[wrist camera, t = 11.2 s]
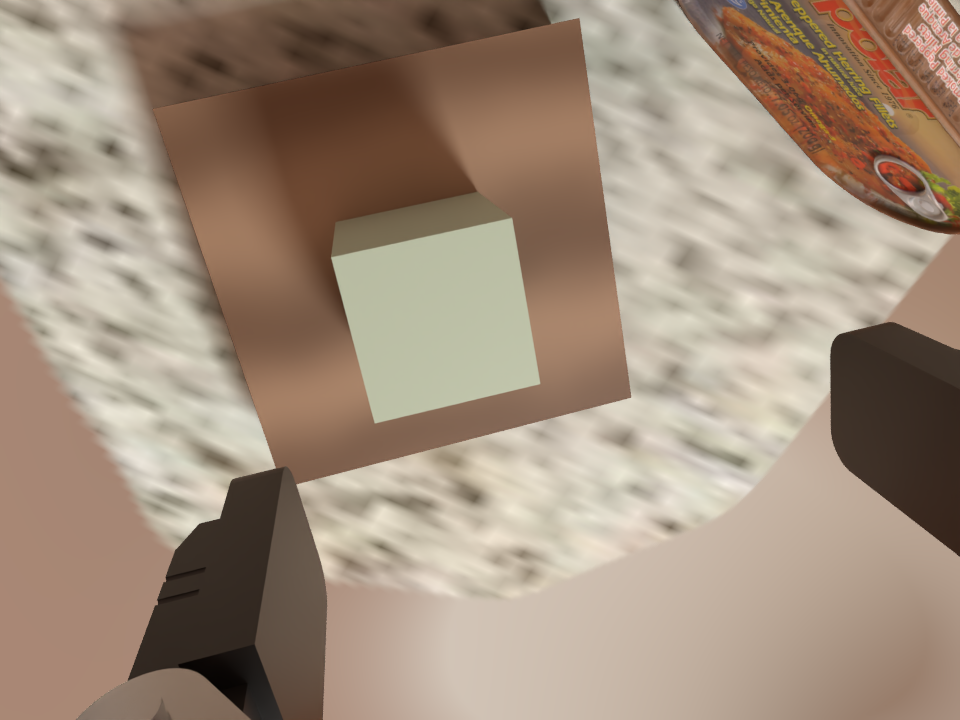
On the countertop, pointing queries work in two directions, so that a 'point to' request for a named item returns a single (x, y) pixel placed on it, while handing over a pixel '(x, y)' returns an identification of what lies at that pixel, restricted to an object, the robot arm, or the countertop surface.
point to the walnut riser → (392, 185)
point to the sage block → (435, 304)
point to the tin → (856, 92)
